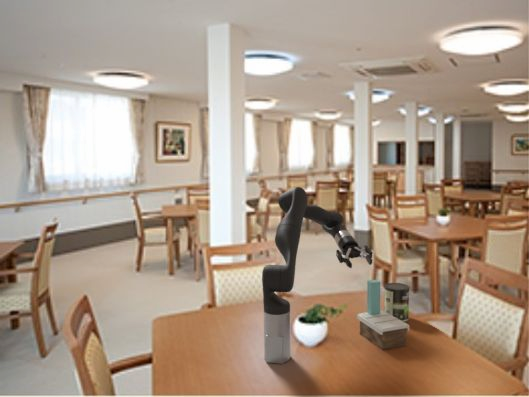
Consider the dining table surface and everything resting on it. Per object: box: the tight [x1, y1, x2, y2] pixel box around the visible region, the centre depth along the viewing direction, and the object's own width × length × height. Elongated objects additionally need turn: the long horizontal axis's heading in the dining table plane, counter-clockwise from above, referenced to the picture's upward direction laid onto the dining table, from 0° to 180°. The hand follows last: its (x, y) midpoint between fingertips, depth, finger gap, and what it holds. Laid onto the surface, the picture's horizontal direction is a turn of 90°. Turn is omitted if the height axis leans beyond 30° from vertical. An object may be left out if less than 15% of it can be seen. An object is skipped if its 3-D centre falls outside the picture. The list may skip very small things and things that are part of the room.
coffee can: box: [383, 282, 410, 323], centre depth 198 cm, size 10×10×14 cm
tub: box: [359, 320, 408, 351], centre depth 176 cm, size 16×10×7 cm, turn 19°
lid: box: [356, 279, 410, 335], centre depth 175 cm, size 17×12×15 cm
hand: (361, 264), depth 185 cm, fingers open, 8 cm apart
